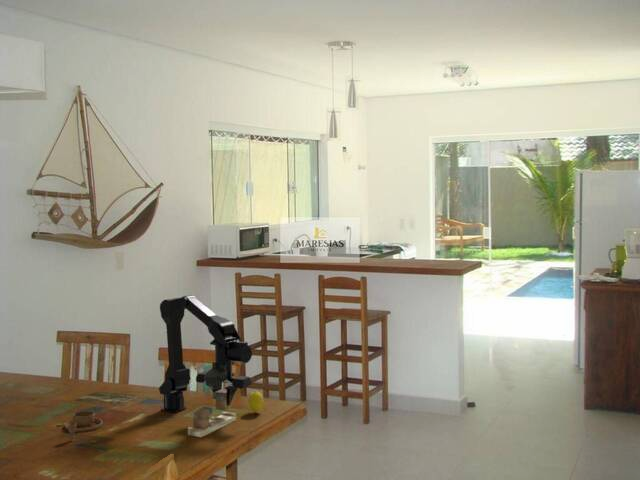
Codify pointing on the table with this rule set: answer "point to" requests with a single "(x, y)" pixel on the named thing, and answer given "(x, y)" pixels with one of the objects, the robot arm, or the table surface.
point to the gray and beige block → (221, 400)
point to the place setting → (82, 422)
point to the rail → (216, 426)
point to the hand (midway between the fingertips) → (223, 404)
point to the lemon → (255, 401)
